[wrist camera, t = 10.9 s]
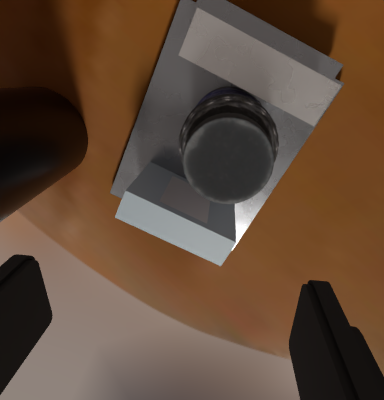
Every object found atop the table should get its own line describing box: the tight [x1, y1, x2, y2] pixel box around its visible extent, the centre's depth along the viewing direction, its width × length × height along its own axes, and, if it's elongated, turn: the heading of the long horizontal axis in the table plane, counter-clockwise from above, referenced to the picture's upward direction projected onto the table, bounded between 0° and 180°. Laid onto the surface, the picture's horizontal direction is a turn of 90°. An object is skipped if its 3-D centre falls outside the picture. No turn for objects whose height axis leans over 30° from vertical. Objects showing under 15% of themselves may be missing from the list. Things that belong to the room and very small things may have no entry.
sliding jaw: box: [115, 162, 236, 266], centre depth 24 cm, size 9×2×7 cm, turn 65°
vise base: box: [110, 0, 344, 250], centre depth 22 cm, size 14×19×8 cm
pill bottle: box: [179, 87, 279, 204], centre depth 19 cm, size 6×6×11 cm
